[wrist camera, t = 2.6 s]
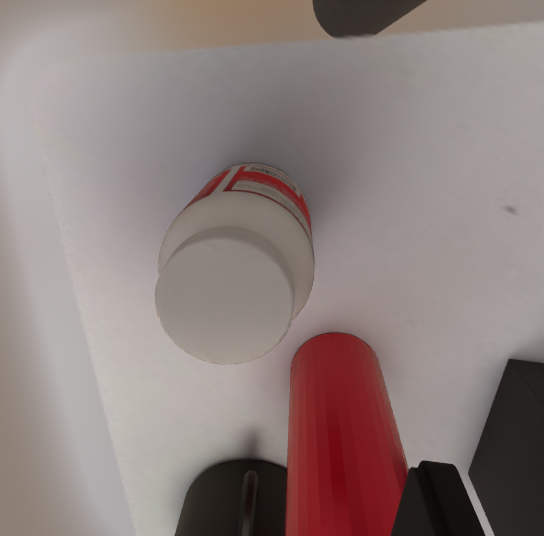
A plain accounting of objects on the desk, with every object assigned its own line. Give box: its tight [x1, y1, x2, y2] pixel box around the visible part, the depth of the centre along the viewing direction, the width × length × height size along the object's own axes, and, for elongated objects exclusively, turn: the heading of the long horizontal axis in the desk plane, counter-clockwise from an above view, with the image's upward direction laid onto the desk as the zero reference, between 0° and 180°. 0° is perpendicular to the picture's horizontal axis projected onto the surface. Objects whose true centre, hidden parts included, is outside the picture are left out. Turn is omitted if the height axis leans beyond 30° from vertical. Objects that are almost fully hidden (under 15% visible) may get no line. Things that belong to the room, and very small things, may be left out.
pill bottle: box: [155, 164, 315, 364], centre depth 21 cm, size 6×6×11 cm
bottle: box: [285, 333, 409, 536], centre depth 20 cm, size 5×5×20 cm
